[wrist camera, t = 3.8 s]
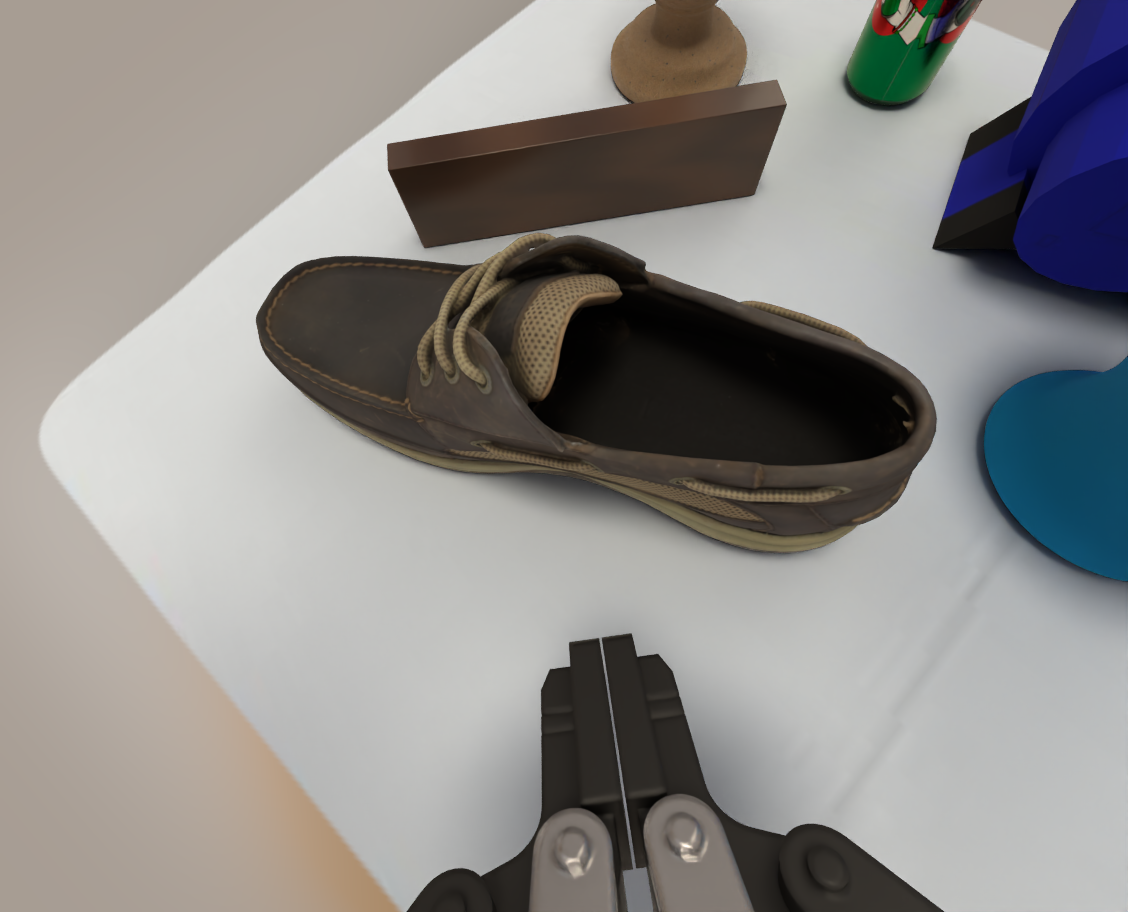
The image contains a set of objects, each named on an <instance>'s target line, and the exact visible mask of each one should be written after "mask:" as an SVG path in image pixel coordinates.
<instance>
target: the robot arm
mask: <svg viewBox="0 0 1128 912" xmlns="http://www.w3.org/2000/svg"><path fill="white" fill-rule="evenodd" d="M602 643H603V650H604V656H605V663H606V670H607V676H608V683H609V690H610V697H611V703H612V710H613V717H614V724H615V730H616V737H617V744H618V750H619V757H620V764H621V771H622V777H623V784H624V791H625V797H626V804H627V811H628V817H629V824H630V830H631V837H632V843H633V850H634V857H635V863H636V868H644V867H647V873H648V879H649V886H650V892H651V898H652V904H653V911H654V912H944V911H943V910H941V909H940V908H939V907H937V906H936V905H935V904H934V903H932V902H931V901H930V900H928V899H927V898H926V897H924V896H923V895H922V894H920V893H919V892H918V891H916V890H915V889H914V888H913V887H911V886H910V885H909V884H907V883H906V882H905V881H903V880H902V879H901V878H899V877H898V876H897V875H895V874H894V873H893V872H892V871H890V870H889V869H888V868H886V867H885V866H884V865H882V864H881V863H880V862H878V861H877V860H876V859H874V858H873V857H872V856H871V855H869V854H868V853H867V852H865V851H864V850H863V849H861V848H860V847H859V846H857V845H856V844H855V843H853V842H852V841H851V840H850V839H848V838H847V837H845V836H844V835H842V834H841V833H840V832H838V831H836V830H834V829H832V828H829V827H826V826H823V825H818V824H804V825H800V826H797V827H795V828H793V829H792V830H791V831H789V832H788V834H787V835H786V836H785V835H781V834H776V833H772V832H768V831H764V830H759V829H755V828H751V827H748V826H745V825H743V824H741V823H739V822H737V821H735V820H733V819H732V818H730V817H729V816H728V815H727V814H725V813H724V812H723V811H722V810H721V809H720V808H719V807H718V806H717V805H716V803H715V802H714V800H713V799H712V797H711V796H710V794H709V792H708V790H707V787H706V784H705V781H704V777H703V774H702V771H701V767H700V764H699V760H698V757H697V754H696V750H695V747H694V743H693V740H692V736H691V733H690V730H689V726H688V723H687V719H686V716H685V714H684V709H683V706H682V702H681V699H680V697H679V692H678V688H677V685H676V682H675V678H674V675H673V671H672V670H671V669H670V668H669V666H668V665H667V664H666V663H665V662H664V660H663V659H662V658H661V657H660V656H659V654H654V655H647V656H640V657H637V654H636V650H635V645H634V641H633V637H632V634H631V633H630V634H623V635H616V636H609V637H602ZM569 651H570V665H571V667H563V668H556V669H550V670H549V673H548V675H547V677H546V680H545V682H544V684H543V687H542V689H541V713H542V717H541V731H542V736H541V747H542V811H541V818H540V822H539V825H538V828H537V830H536V832H535V834H534V836H533V838H532V839H531V841H530V842H529V844H528V845H527V846H526V847H525V849H524V850H523V851H522V852H521V853H519V854H518V855H517V856H516V857H514V858H513V859H511V860H510V861H508V862H506V863H504V864H502V865H501V866H499V867H497V868H495V869H493V870H492V871H490V872H488V873H486V874H484V875H483V876H481V877H480V876H479V875H478V874H477V873H475V872H474V871H471V870H469V869H463V868H457V869H452V870H448V871H446V872H444V873H441V874H440V875H438V876H437V877H435V878H434V879H433V880H432V881H431V882H430V883H429V884H427V886H426V887H425V888H424V889H423V890H422V892H421V893H420V894H419V896H418V897H417V898H416V900H415V901H414V902H413V904H412V905H411V906H410V908H409V909H408V911H407V912H628V911H627V901H626V894H625V886H624V878H623V871H624V870H631V869H633V866H632V859H631V852H630V845H629V839H628V832H627V825H626V818H625V811H624V804H623V797H622V790H621V783H620V776H619V769H618V762H617V755H616V748H615V741H614V734H613V727H612V720H611V713H610V706H609V700H608V693H607V686H606V680H605V673H604V667H603V660H602V654H601V647H600V641H599V638H596V639H589V640H582V641H575V642H569Z"/></svg>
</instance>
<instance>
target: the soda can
mask: <svg viewBox="0 0 1128 912" xmlns="http://www.w3.org/2000/svg"><path fill="white" fill-rule="evenodd" d="M981 1H982V0H876V2H875V4H874V6H873V9H872V11H871V13H870V15H869V18H868V20H867V22H866V24H865V27H864V29H863V31H862V33H861V36H860V38H859V40H858V42H857V45H856V47H855V49H854V51H853V54H852V56H851V58H850V60H849V63H848V65H847V75H848V79H849V83H850V85H851V87H852V89H853V90H854V92H855V93H856V94H857V95H858V96H859V97H861V98H862V99H864V100H866V101H868V102H871V103H874V104H878V105H898V104H902V103H905V102H907V101H910V100H912V99H914V98H915V97H917V96H919V95H921V94H922V93H924V92H925V91H926V90H927V89H928V87H929V86H930V84H931V82H932V81H933V79H934V78H935V76H936V74H937V73H938V71H939V69H940V68H941V66H942V65H943V63H944V61H945V60H946V58H947V56H948V55H949V53H950V52H951V50H952V48H953V47H954V45H955V43H956V42H957V40H958V39H959V37H960V35H961V34H962V32H963V30H964V29H965V27H966V26H967V24H968V22H969V21H970V19H971V17H972V15H973V14H974V13H975V11H976V9H977V8H978V6H979V4H980V2H981Z"/></svg>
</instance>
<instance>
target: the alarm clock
mask: <svg viewBox="0 0 1128 912" xmlns="http://www.w3.org/2000/svg"><path fill="white" fill-rule="evenodd" d="M933 248H957V249H1017V252H1018V255H1019V257H1020V259H1022V260H1023V261H1024V262H1025V263H1026V264H1027V265H1029V266H1030V267H1031V268H1032V269H1033V270H1034V271H1035V272H1037V273H1039V274H1041V275H1044V276H1046V277H1048V278H1051V279H1053V280H1055V281H1058V282H1060V283H1062V284H1067V285H1072V286H1077V287H1081V288H1086V289H1091V290H1096V291H1112V292H1128V0H1076V2H1075V3H1074V5H1073V7H1072V8H1071V10H1070V12H1069V13H1068V15H1067V16H1066V18H1065V19H1064V21H1063V23H1062V24H1061V26H1060V27H1059V30H1058V33H1057V35H1056V37H1055V40H1054V42H1053V45H1052V47H1051V50H1050V52H1049V55H1048V57H1047V60H1046V62H1045V65H1044V67H1043V69H1042V72H1041V74H1040V77H1039V79H1038V82H1037V84H1036V87H1035V89H1034V92H1033V94H1032V97H1030V98H1028V99H1027V100H1025V101H1023V102H1022V103H1020V104H1018V105H1017V106H1015V107H1014V108H1012V109H1010V110H1009V111H1007V112H1005V113H1004V114H1002V115H1000V116H999V117H997V118H996V119H994V120H992V121H991V122H989V123H987V124H986V125H984V126H982V127H981V128H979V129H978V130H976V131H974V132H973V133H971V134H970V137H969V140H968V143H967V146H966V149H965V152H964V155H963V158H962V161H961V164H960V167H959V170H958V173H957V176H956V179H955V182H954V185H953V188H952V191H951V194H950V197H949V200H948V203H947V206H946V209H945V212H944V215H943V218H942V221H941V224H940V227H939V230H938V233H937V236H936V239H935V242H934V245H933Z"/></svg>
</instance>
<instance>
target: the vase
mask: <svg viewBox="0 0 1128 912" xmlns="http://www.w3.org/2000/svg"><path fill="white" fill-rule="evenodd" d="M984 452H985V459H986V464H987V468H988V471H989V474H990V477H991V479H992V482H993V484H994V486H995V488H996V490H997V492H998V494H999V496H1000V497H1001V499H1002V501H1003V502H1004V504H1005V505H1006V507H1007V508H1008V509H1009V511H1010V512H1011V513H1012V515H1013V516H1014V517H1015V518H1016V519H1017V520H1018V522H1019V523H1020V524H1021V525H1022V526H1023V527H1024V528H1025V529H1026V530H1027V531H1028V532H1029V533H1030V534H1031V535H1032V536H1034V537H1035V538H1036V539H1037V540H1038V541H1040V542H1041V543H1042V544H1043V545H1045V546H1046V547H1047V548H1049V549H1050V550H1052V551H1053V552H1055V553H1056V554H1058V555H1059V556H1061V557H1063V558H1064V559H1066V560H1068V561H1070V562H1071V563H1073V564H1075V565H1077V566H1079V567H1082V568H1084V569H1086V570H1088V571H1091V572H1094V573H1096V574H1099V575H1102V576H1105V577H1109V578H1113V579H1117V580H1121V581H1127V582H1128V356H1127V357H1126V358H1125V359H1124V360H1123V361H1122V362H1121V363H1120V364H1119V365H1117V366H1116V367H1114V368H1112V369H1110V370H1107V371H1105V372H1098V371H1088V370H1062V371H1052V372H1046V373H1042V374H1038V375H1035V376H1032V377H1029V378H1027V379H1025V380H1022V381H1021V382H1019V383H1017V384H1015V385H1014V386H1012V387H1011V388H1010V389H1008V390H1007V391H1006V392H1005V393H1004V394H1003V395H1002V396H1001V397H1000V398H999V400H998V401H997V402H996V404H995V405H994V407H993V408H992V410H991V412H990V415H989V417H988V420H987V423H986V427H985V434H984Z"/></svg>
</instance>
